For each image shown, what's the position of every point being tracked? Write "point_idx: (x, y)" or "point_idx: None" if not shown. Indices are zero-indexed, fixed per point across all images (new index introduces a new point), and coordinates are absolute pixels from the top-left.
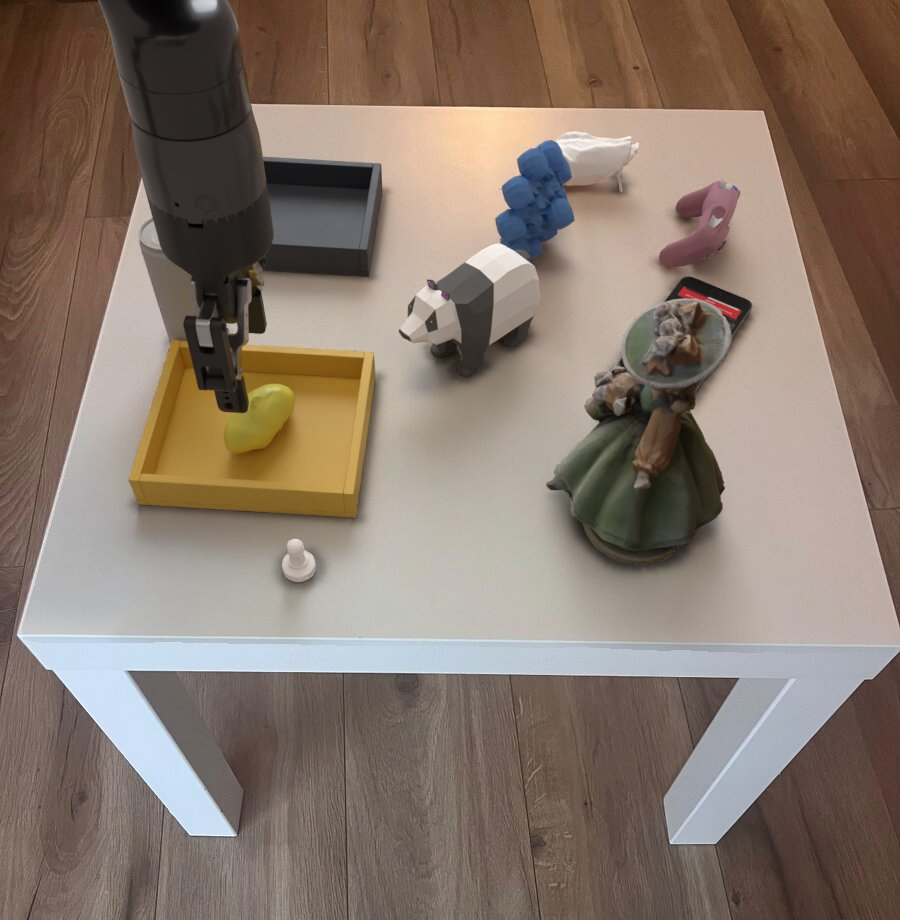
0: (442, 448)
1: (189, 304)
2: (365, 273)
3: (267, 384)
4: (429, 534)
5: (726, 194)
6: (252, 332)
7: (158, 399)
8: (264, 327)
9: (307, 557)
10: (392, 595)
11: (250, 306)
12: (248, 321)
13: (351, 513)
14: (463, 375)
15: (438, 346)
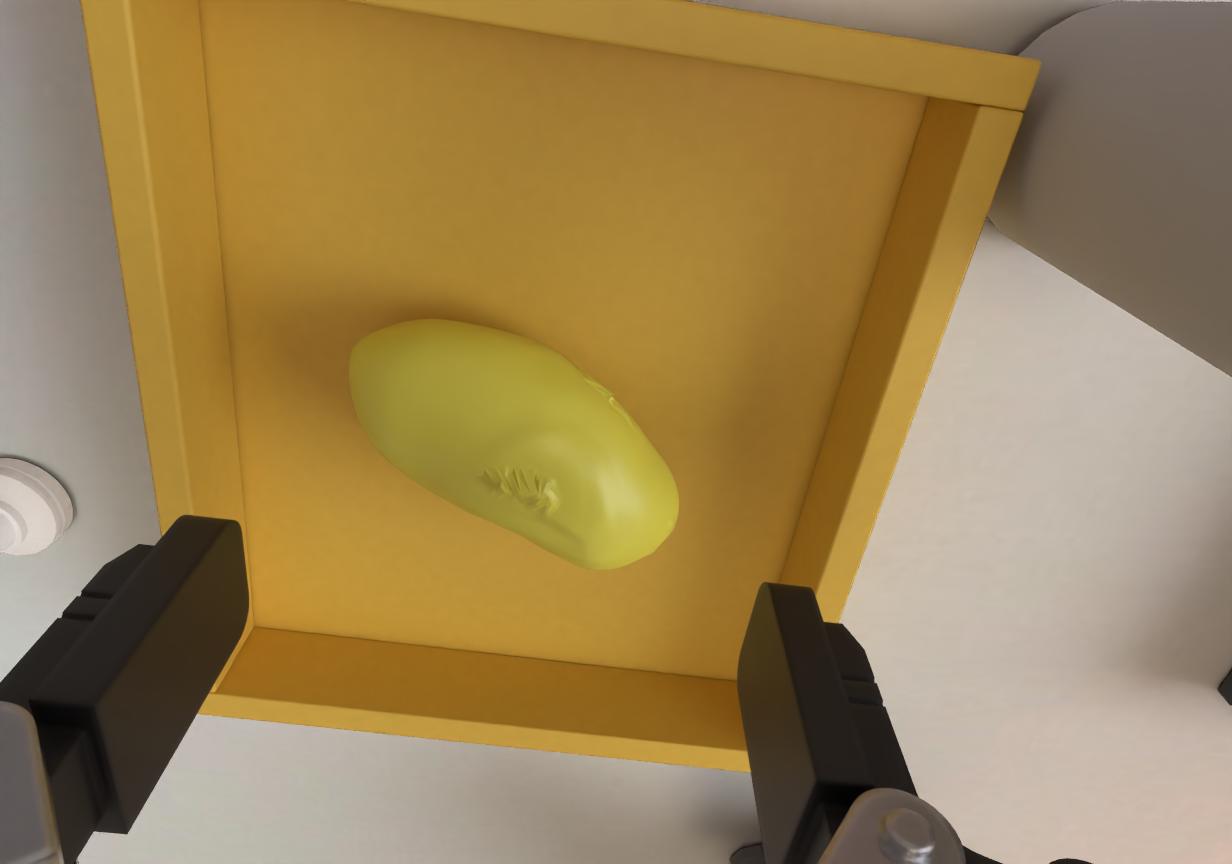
0: (494, 801)
1: (1140, 255)
2: (1230, 692)
3: (641, 510)
4: (217, 764)
5: None
6: (748, 627)
7: (619, 20)
8: (739, 703)
9: (7, 550)
10: None
11: (774, 780)
12: (763, 671)
13: None
14: (735, 857)
15: None
